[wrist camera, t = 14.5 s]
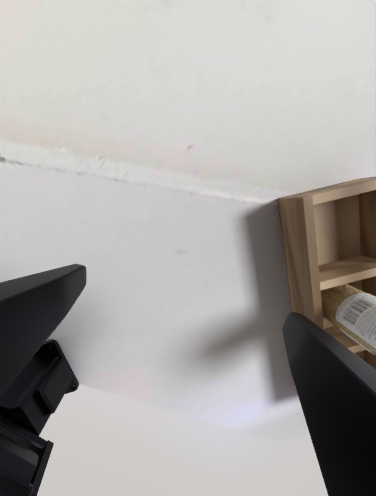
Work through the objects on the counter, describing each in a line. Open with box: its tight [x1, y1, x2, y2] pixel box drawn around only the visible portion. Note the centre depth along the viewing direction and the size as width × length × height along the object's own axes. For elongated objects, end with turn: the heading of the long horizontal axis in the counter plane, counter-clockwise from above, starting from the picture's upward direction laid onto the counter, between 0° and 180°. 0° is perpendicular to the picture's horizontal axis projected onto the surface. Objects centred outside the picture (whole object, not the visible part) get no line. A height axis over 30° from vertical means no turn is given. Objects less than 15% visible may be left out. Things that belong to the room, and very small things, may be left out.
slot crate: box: [278, 177, 376, 369], centre depth 21 cm, size 9×24×4 cm, turn 13°
